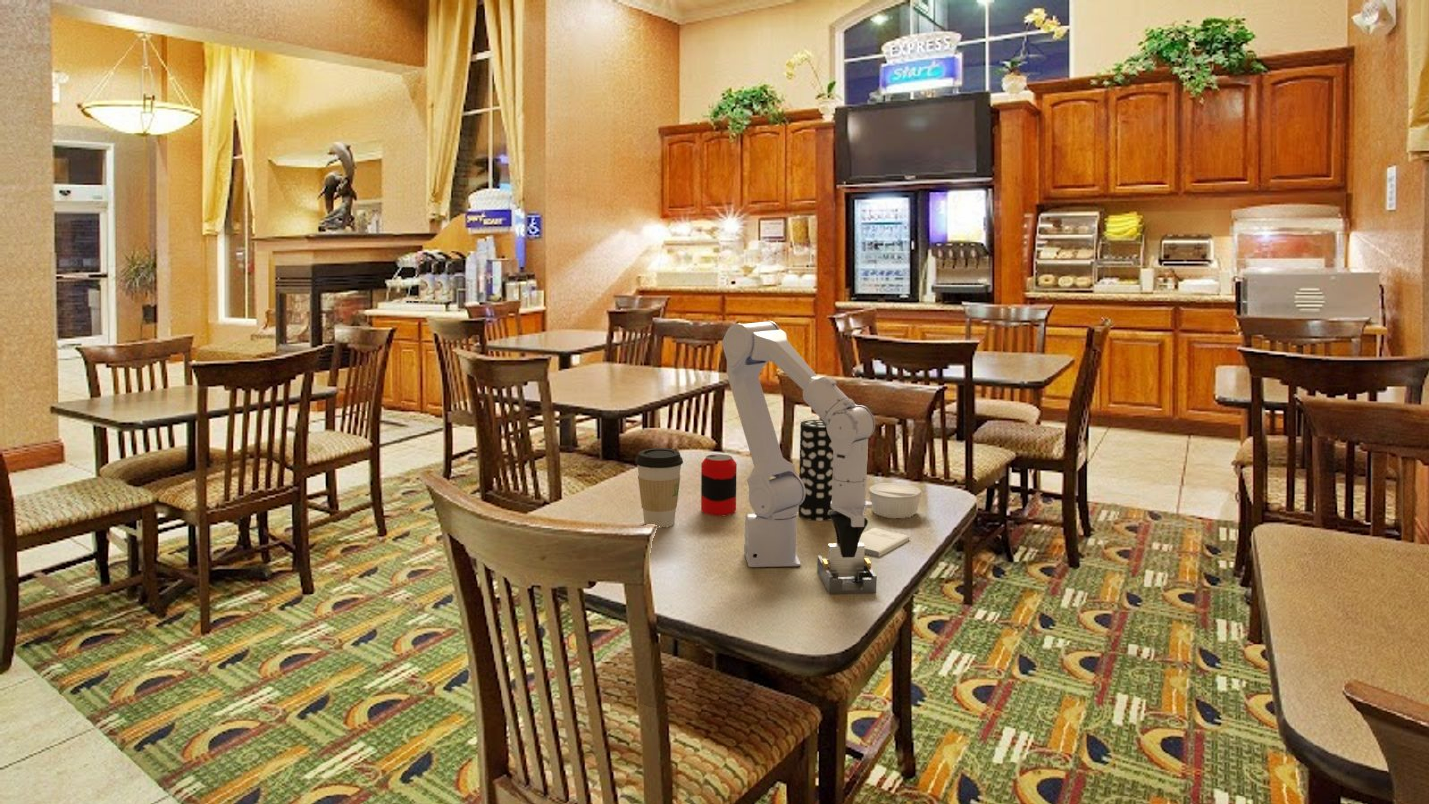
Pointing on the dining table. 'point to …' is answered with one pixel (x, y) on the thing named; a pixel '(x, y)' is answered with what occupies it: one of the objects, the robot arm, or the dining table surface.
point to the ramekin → (894, 499)
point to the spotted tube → (816, 470)
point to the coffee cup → (659, 484)
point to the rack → (847, 579)
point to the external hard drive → (881, 541)
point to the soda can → (718, 485)
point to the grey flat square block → (845, 561)
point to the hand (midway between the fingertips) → (846, 554)
